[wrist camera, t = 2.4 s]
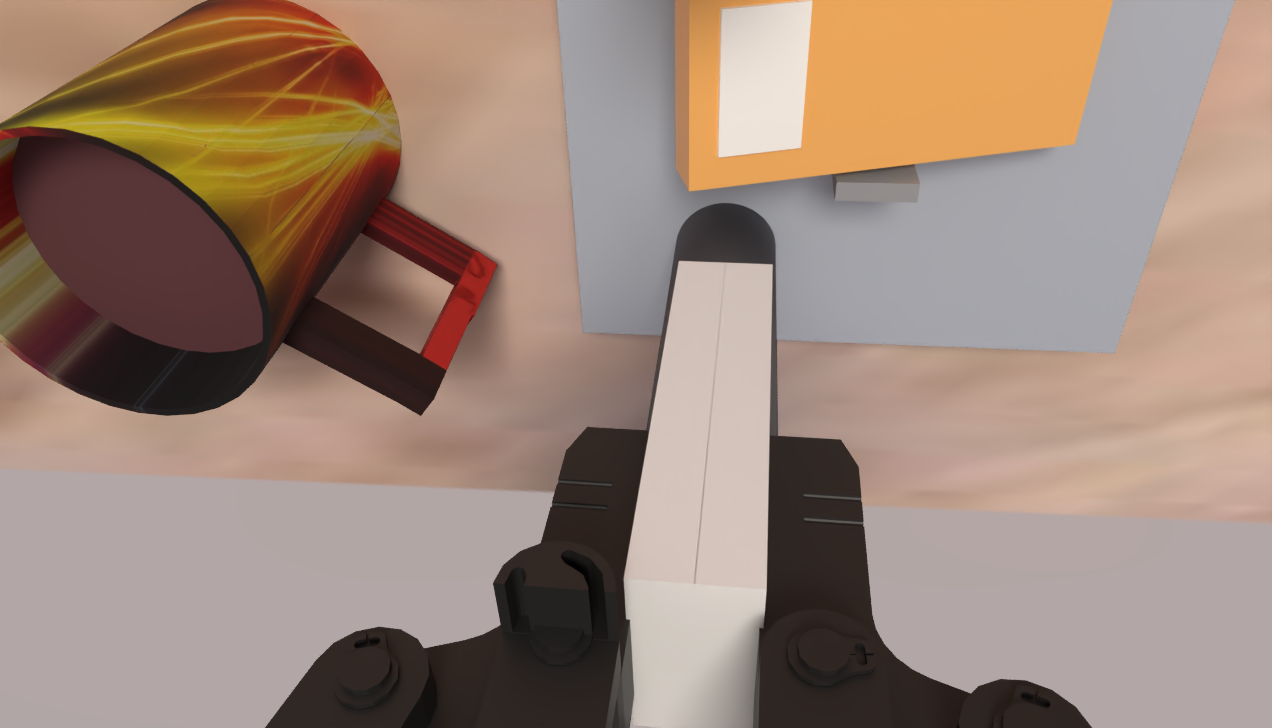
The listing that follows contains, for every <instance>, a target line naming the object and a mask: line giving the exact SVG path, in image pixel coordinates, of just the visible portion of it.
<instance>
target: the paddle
mask: <svg viewBox="0 0 1272 728" xmlns="http://www.w3.org/2000/svg"><path fill="white" fill-rule="evenodd" d="M1112 2H1113V0H675V118H676V169H677V171H678V173H679V175H680V176H681V178H682V180H683V182H684V184H685V185H686V187H687V189H688V191H697V190H706V189H714V188H722V187H730V186H738V185H747V184H755V183H763V182H771V181H779V180H788V179H796V178H804V177H812V176H820V175H828V174H837V173H845V172H853V171H861V170H869V169H878V168H886V167H894V166H902V165H910V164H919V163H927V162H935V161H943V160H951V159H960V158H968V157H976V156H984V155H992V154H1000V153H1009V152H1017V151H1025V150H1033V149H1041V148H1050V147H1058V146H1066V145H1074V144H1075V141H1076V138H1077V134H1078V130H1079V126H1080V123H1081V119H1082V115H1083V111H1084V107H1085V104H1086V100H1087V96H1088V92H1089V89H1090V85H1091V81H1092V77H1093V74H1094V70H1095V66H1096V62H1097V58H1098V55H1099V51H1100V47H1101V43H1102V40H1103V36H1104V32H1105V28H1106V24H1107V21H1108V17H1109V13H1110V9H1111V6H1112Z"/></svg>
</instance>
